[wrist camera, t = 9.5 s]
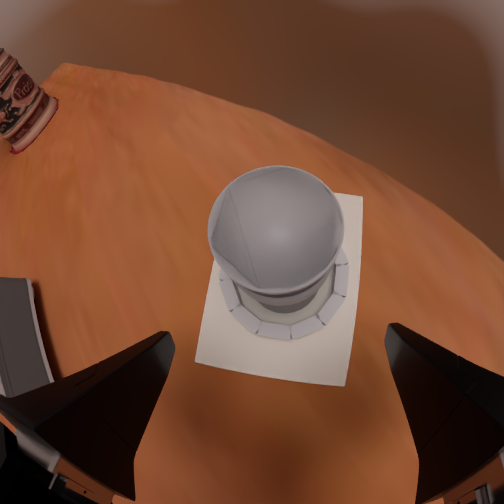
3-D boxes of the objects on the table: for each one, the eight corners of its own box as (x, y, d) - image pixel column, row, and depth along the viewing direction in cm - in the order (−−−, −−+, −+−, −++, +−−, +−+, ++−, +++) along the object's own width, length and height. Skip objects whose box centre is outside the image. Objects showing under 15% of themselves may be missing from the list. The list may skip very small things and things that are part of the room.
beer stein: (72, 110, 41) (46, 95, 44) (16, 6, 14) (1, 15, 18) (14, 172, 36) (-1, 144, 40) (-64, 81, 10) (-58, 72, 14)
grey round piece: (301, 328, 21) (308, 320, 10) (234, 294, 22) (182, 254, 12) (333, 261, 22) (364, 194, 11) (268, 231, 23) (247, 149, 13)
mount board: (342, 384, 19) (349, 390, 17) (197, 361, 22) (185, 363, 19) (360, 200, 24) (367, 185, 21) (232, 187, 26) (226, 172, 24)
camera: (34, 270, 26) (-38, 263, 16) (68, 403, 20) (-17, 416, 11) (21, 303, 29) (-38, 301, 20) (51, 413, 23) (-14, 423, 14)
